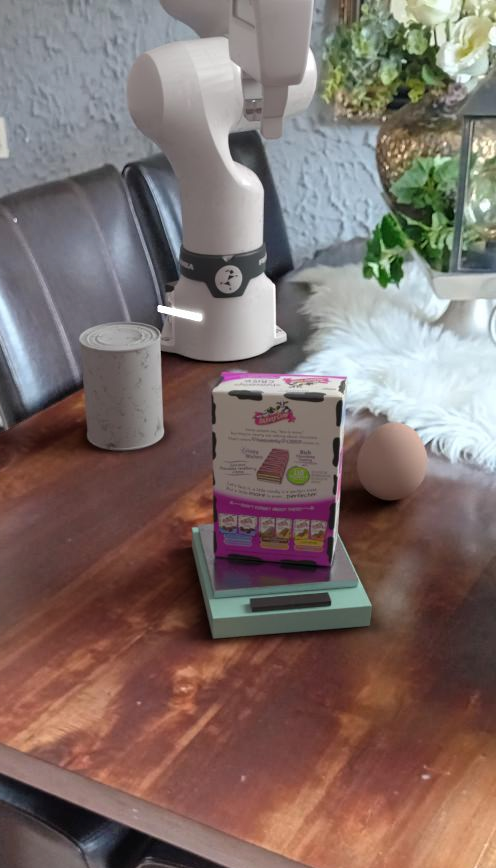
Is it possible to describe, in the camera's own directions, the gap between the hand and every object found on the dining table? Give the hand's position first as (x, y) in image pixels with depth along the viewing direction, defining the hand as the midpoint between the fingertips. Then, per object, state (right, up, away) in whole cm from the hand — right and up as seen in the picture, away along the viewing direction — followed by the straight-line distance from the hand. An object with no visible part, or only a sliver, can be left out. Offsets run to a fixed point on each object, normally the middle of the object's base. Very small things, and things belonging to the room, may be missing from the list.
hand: (261, 128), depth 94 cm
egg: (+15, -33, +14) cm, 39 cm away
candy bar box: (+1, -39, +1) cm, 40 cm away
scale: (+1, -42, +1) cm, 43 cm away
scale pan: (+1, -40, +1) cm, 40 cm away
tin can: (-13, -23, +30) cm, 40 cm away
